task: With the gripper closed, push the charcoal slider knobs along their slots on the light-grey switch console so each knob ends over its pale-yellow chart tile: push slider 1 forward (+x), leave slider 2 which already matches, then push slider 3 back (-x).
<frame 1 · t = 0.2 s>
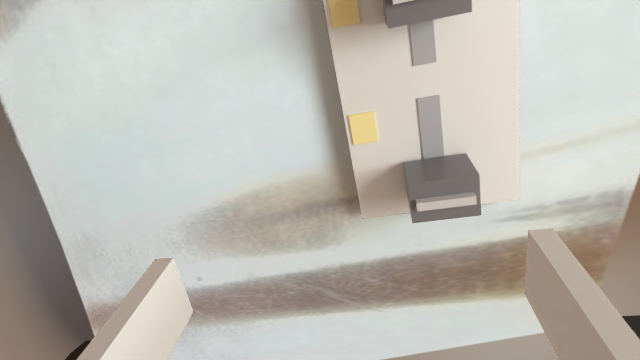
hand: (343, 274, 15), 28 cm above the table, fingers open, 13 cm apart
slider 3: (440, 189, 37), point 5 cm above the table, slide at 0.0 cm
console: (418, 26, 37), on the table
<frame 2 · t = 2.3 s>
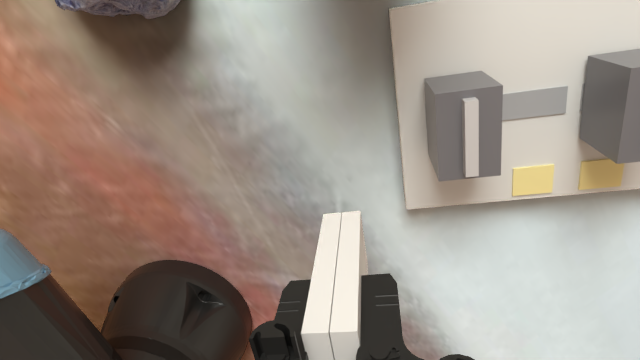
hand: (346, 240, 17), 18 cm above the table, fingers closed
slider 1: (461, 126, 28), point 5 cm above the table, slide at 0.0 cm
slider 2: (639, 105, 26), point 5 cm above the table, slide at 0.0 cm
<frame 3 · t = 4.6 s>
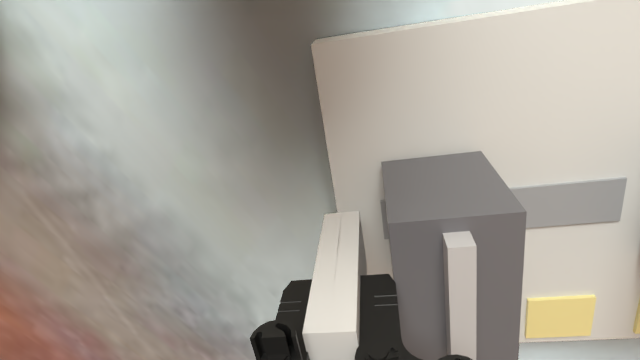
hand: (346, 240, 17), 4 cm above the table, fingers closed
slider 1: (445, 258, 15), point 5 cm above the table, slide at 0.2 cm, touching gripper
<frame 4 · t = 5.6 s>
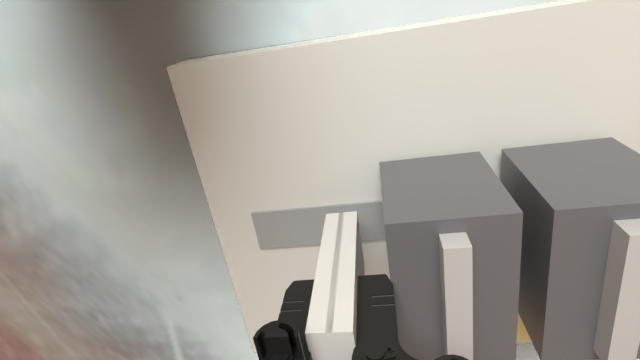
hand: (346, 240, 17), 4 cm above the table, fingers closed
slider 1: (443, 259, 15), point 5 cm above the table, slide at 6.2 cm, touching gripper
slider 2: (583, 249, 14), point 5 cm above the table, slide at 0.0 cm
console: (598, 179, 19), on the table
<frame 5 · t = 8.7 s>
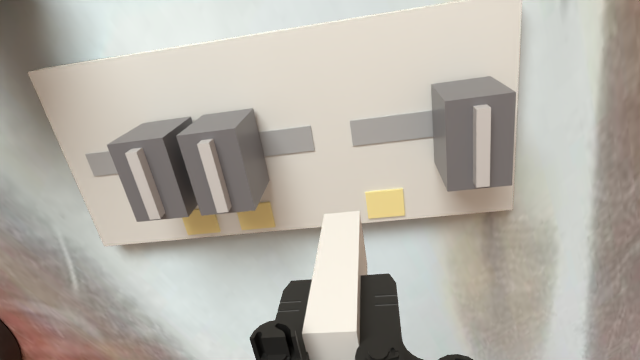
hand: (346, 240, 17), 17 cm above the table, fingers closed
slider 1: (162, 170, 30), point 5 cm above the table, slide at 6.0 cm
slider 2: (226, 162, 29), point 5 cm above the table, slide at 0.0 cm
slider 3: (471, 134, 27), point 5 cm above the table, slide at 0.0 cm
console: (279, 134, 33), on the table
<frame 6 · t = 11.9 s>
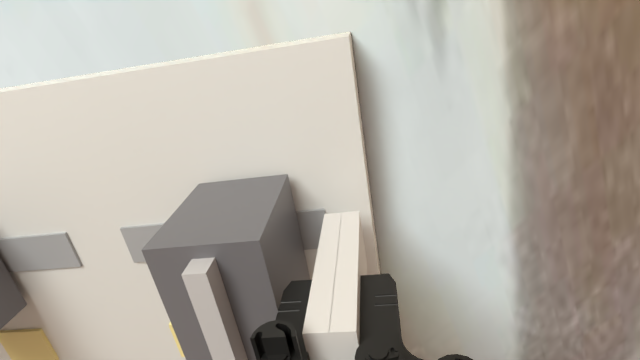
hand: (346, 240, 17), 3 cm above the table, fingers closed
slider 3: (240, 278, 16), point 5 cm above the table, slide at 1.2 cm, touching gripper
console: (50, 232, 23), on the table
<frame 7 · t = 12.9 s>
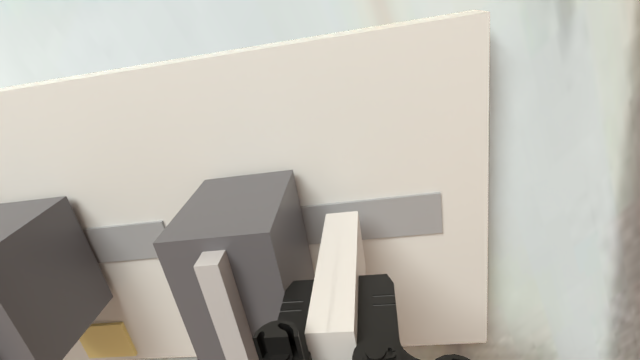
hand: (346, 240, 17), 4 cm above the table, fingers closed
slider 2: (10, 291, 18), point 5 cm above the table, slide at 0.0 cm
slider 3: (247, 272, 16), point 5 cm above the table, slide at 6.1 cm, touching gripper
console: (133, 222, 22), on the table
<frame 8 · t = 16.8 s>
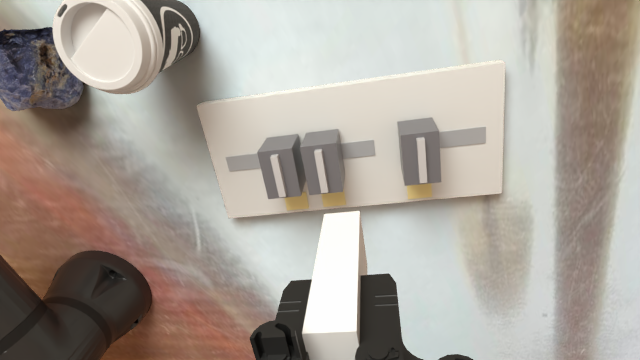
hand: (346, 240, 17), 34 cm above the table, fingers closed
slider 1: (282, 167, 48), point 5 cm above the table, slide at 6.0 cm
slider 2: (323, 162, 47), point 5 cm above the table, slide at 0.0 cm
rock: (49, 67, 52), on the table
slider 3: (419, 152, 46), point 5 cm above the table, slide at 6.0 cm
coffee cup: (173, 28, 48), on the table
console: (350, 144, 52), on the table
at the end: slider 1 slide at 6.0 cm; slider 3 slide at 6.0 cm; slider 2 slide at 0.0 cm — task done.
